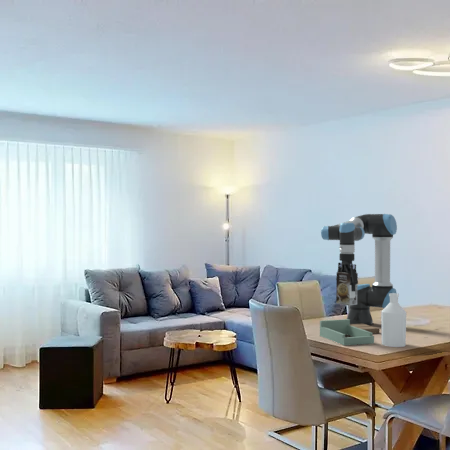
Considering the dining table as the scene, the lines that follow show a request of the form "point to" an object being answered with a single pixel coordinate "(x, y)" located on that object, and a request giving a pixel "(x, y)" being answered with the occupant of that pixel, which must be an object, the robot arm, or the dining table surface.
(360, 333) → the frame
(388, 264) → the robot arm
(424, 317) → the dining table surface
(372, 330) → the board
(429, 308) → the dining table surface
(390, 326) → the bottle
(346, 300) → the coffee box
